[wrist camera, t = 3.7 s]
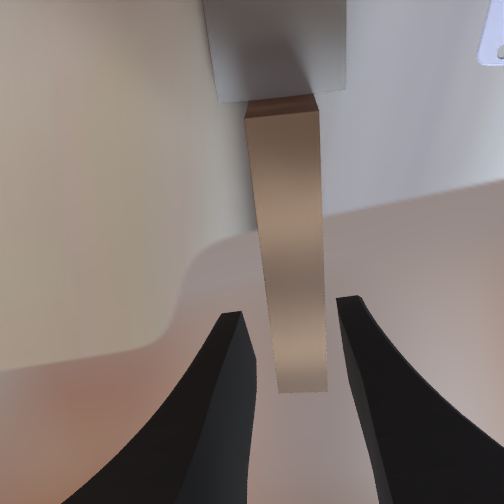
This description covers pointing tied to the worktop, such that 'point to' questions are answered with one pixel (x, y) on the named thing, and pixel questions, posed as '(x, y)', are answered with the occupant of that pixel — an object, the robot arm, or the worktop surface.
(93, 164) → the worktop surface
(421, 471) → the robot arm
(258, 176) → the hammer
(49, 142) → the worktop surface
